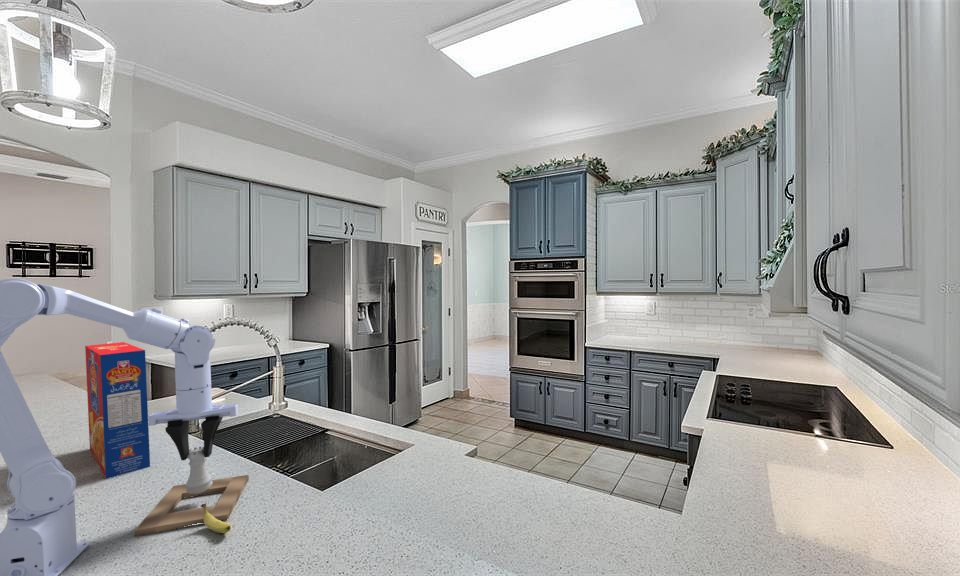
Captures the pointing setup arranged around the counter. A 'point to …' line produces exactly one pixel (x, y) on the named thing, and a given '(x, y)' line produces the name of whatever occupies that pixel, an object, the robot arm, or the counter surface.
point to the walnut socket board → (166, 520)
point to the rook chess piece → (198, 472)
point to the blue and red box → (117, 407)
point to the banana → (215, 522)
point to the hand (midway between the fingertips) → (196, 456)
